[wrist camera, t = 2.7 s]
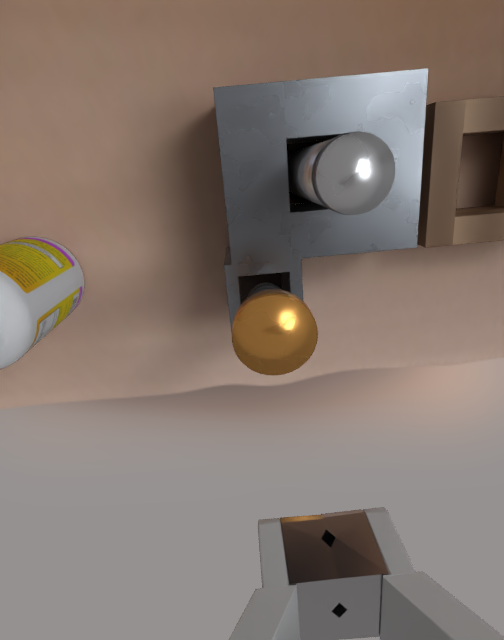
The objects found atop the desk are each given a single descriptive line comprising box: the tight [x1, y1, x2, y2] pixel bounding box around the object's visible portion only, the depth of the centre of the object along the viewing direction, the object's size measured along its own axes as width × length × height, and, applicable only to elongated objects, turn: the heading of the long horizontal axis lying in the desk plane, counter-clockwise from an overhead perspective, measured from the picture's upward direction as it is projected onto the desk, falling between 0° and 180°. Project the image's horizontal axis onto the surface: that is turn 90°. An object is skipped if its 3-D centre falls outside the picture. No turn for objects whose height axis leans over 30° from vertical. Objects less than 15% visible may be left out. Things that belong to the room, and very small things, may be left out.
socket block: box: [213, 69, 428, 332], centre depth 27 cm, size 12×15×6 cm
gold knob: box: [232, 283, 318, 375], centre depth 23 cm, size 4×4×6 cm
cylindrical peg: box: [287, 131, 395, 215], centre depth 23 cm, size 4×4×13 cm
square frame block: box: [417, 96, 504, 248], centre depth 28 cm, size 9×9×4 cm
